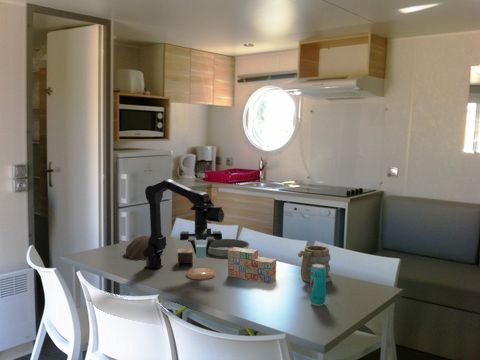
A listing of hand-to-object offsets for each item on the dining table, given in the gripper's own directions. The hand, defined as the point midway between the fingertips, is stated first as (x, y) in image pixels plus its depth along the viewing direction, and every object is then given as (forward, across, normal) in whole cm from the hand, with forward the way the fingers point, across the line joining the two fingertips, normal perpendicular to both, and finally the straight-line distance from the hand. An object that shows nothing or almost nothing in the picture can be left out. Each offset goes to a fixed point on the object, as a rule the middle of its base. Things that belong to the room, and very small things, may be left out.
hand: (201, 254), depth 212 cm
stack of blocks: (+10, +22, -5) cm, 25 cm away
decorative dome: (+10, -29, +38) cm, 49 cm away
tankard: (+10, +48, -12) cm, 50 cm away
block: (+1, 0, 0) cm, 1 cm away
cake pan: (+10, +15, +41) cm, 45 cm away
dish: (+10, 0, 0) cm, 10 cm away
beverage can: (+10, +44, -39) cm, 59 cm away
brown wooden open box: (+10, -7, +17) cm, 21 cm away
